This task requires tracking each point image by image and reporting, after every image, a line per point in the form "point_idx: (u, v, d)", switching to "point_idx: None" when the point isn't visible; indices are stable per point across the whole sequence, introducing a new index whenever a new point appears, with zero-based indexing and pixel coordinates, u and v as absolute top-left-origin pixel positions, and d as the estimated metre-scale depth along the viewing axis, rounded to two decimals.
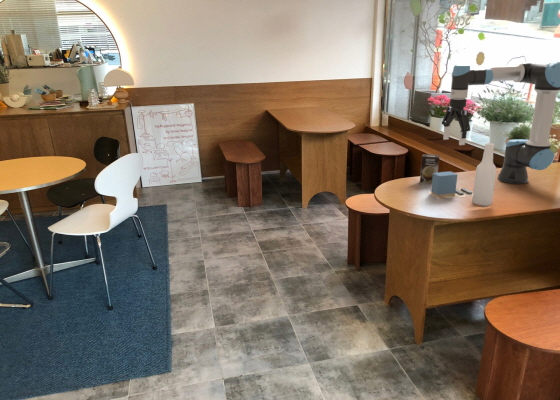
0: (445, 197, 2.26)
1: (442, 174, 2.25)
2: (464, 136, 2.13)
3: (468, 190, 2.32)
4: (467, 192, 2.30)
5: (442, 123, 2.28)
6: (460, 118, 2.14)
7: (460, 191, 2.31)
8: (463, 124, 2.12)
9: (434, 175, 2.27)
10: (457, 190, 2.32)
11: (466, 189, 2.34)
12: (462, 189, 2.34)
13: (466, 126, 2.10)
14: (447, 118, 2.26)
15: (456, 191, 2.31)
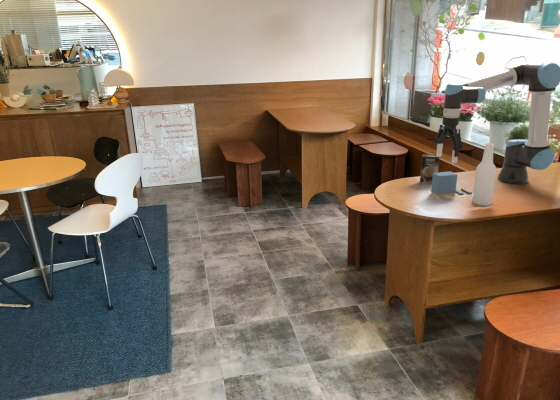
0: (445, 197, 2.26)
1: (442, 174, 2.25)
2: (456, 154, 2.15)
3: (468, 190, 2.32)
4: (467, 192, 2.30)
5: (435, 140, 2.30)
6: (453, 136, 2.16)
7: (460, 191, 2.31)
8: (455, 142, 2.13)
9: (434, 175, 2.27)
10: (457, 190, 2.32)
11: (466, 189, 2.34)
12: (462, 189, 2.34)
13: (458, 145, 2.12)
14: (440, 135, 2.27)
15: (456, 191, 2.31)
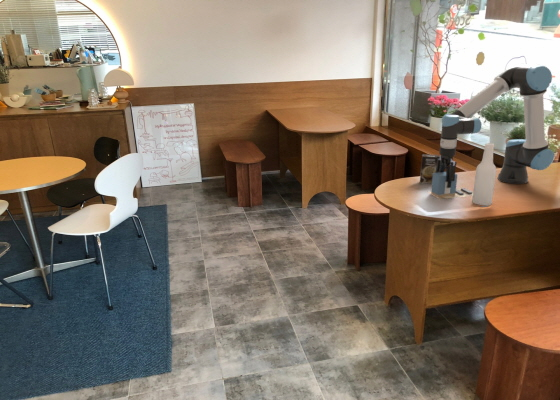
0: (445, 197, 2.26)
1: (442, 174, 2.25)
2: (449, 185, 2.24)
3: (468, 190, 2.32)
4: (467, 192, 2.30)
5: None
6: (448, 167, 2.22)
7: (460, 191, 2.31)
8: (449, 174, 2.21)
9: (434, 175, 2.27)
10: (457, 190, 2.32)
11: (466, 189, 2.34)
12: (462, 189, 2.34)
13: (451, 177, 2.20)
14: (439, 167, 2.31)
15: (456, 191, 2.31)
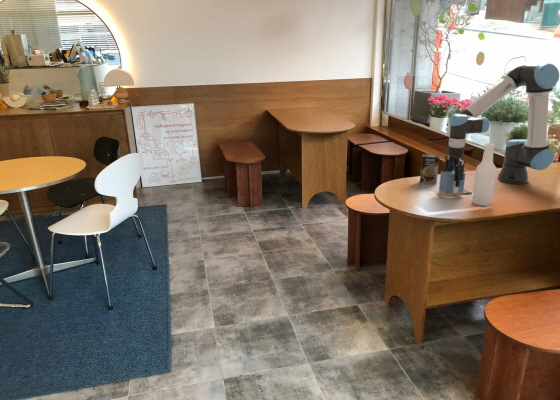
0: (445, 197, 2.26)
1: (450, 173, 2.26)
2: (457, 185, 2.25)
3: (468, 190, 2.32)
4: None
5: None
6: (456, 167, 2.23)
7: (464, 191, 2.31)
8: (458, 173, 2.22)
9: (442, 174, 2.28)
10: None
11: (466, 189, 2.34)
12: None
13: (460, 176, 2.21)
14: (448, 167, 2.32)
15: None
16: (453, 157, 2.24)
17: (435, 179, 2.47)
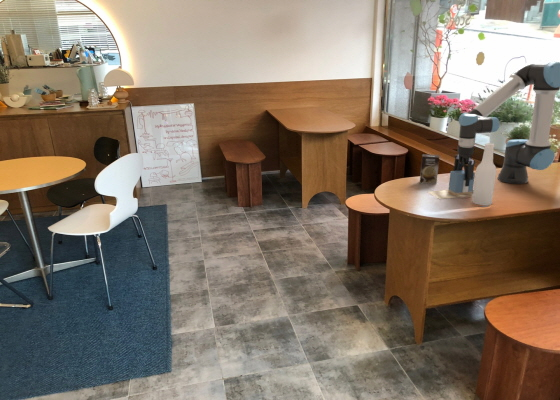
0: (445, 197, 2.26)
1: (460, 173, 2.27)
2: (467, 184, 2.26)
3: None
4: None
5: None
6: (466, 166, 2.24)
7: None
8: (467, 173, 2.23)
9: (452, 173, 2.29)
10: None
11: None
12: None
13: (470, 176, 2.22)
14: (457, 166, 2.33)
15: None
16: (463, 157, 2.25)
17: (435, 179, 2.47)
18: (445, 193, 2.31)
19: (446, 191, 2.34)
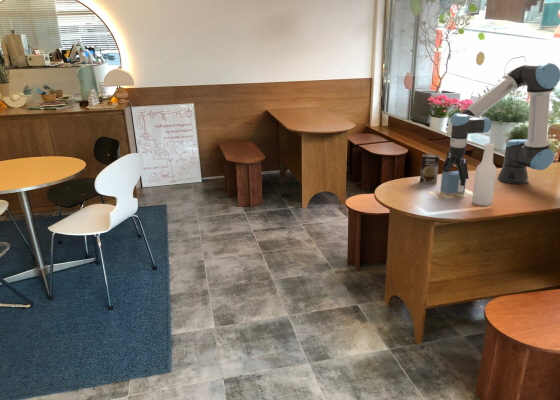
0: (445, 197, 2.26)
1: (452, 173, 2.26)
2: (463, 183, 2.22)
3: None
4: None
5: (442, 168, 2.35)
6: (459, 166, 2.22)
7: None
8: (462, 172, 2.20)
9: (443, 174, 2.28)
10: None
11: None
12: None
13: (465, 174, 2.19)
14: (447, 164, 2.33)
15: None
16: (455, 157, 2.24)
17: (435, 179, 2.47)
18: None
19: None
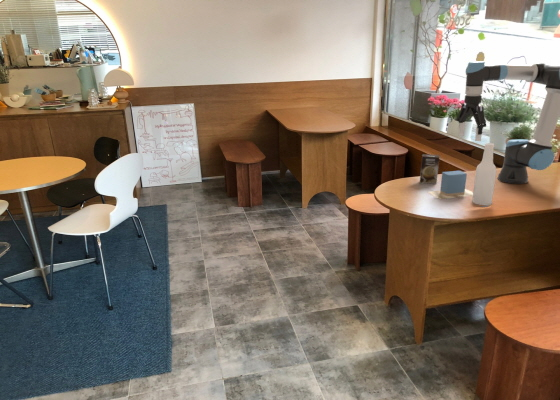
0: (445, 197, 2.26)
1: (452, 173, 2.26)
2: (480, 132, 2.15)
3: None
4: None
5: (457, 119, 2.30)
6: (476, 114, 2.16)
7: None
8: (479, 120, 2.13)
9: (443, 174, 2.28)
10: None
11: None
12: None
13: (482, 122, 2.12)
14: (462, 114, 2.27)
15: None
16: (470, 106, 2.18)
17: (435, 179, 2.47)
18: None
19: None
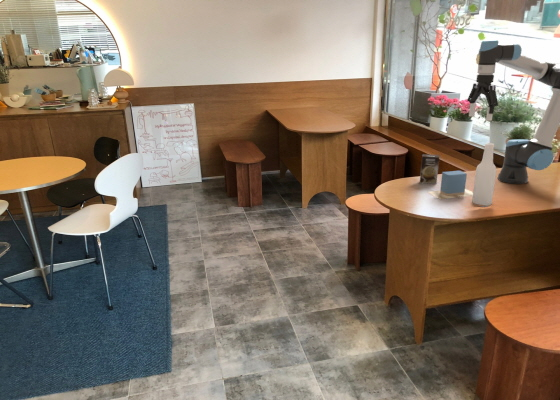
0: (445, 197, 2.26)
1: (452, 173, 2.26)
2: (491, 111, 2.14)
3: None
4: None
5: (468, 100, 2.29)
6: (487, 93, 2.15)
7: None
8: (491, 99, 2.12)
9: (443, 174, 2.28)
10: None
11: None
12: None
13: (494, 101, 2.11)
14: None
15: None
16: (482, 86, 2.17)
17: (435, 179, 2.47)
18: None
19: None
